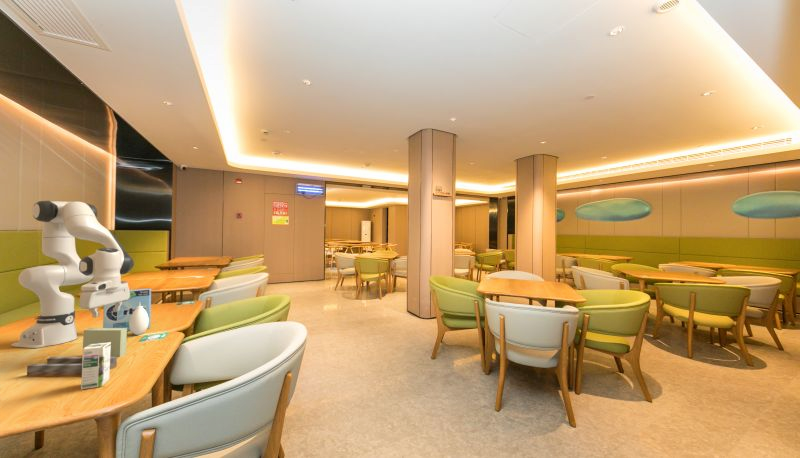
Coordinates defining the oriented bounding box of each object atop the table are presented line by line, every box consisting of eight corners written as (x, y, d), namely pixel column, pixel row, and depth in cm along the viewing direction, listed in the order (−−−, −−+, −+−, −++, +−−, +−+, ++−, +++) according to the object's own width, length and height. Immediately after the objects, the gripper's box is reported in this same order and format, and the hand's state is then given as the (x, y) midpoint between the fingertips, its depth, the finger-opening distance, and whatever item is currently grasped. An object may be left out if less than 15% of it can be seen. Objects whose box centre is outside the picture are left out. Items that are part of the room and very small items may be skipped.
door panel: (82, 357, 129) (83, 330, 129) (89, 354, 132) (90, 328, 132) (119, 357, 130) (120, 330, 130) (125, 354, 133) (126, 328, 133)
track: (26, 376, 111) (27, 365, 112) (50, 366, 119) (51, 357, 119) (97, 375, 113) (97, 365, 113) (116, 366, 121) (116, 356, 121)
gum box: (150, 326, 172) (151, 288, 173) (148, 328, 168) (150, 289, 169) (104, 332, 162) (106, 291, 162) (102, 334, 157) (103, 292, 158)
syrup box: (80, 390, 102) (81, 349, 103) (89, 382, 108) (91, 343, 108) (101, 387, 104) (103, 346, 105) (110, 379, 110) (111, 341, 110)
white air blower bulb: (139, 331, 163) (141, 299, 163) (151, 332, 162) (153, 300, 162) (124, 336, 155) (126, 302, 156) (137, 337, 154) (138, 303, 154)
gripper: (120, 280, 142) (120, 308, 142) (76, 287, 121) (75, 320, 121) (134, 280, 142) (133, 308, 142) (92, 287, 122) (91, 320, 121)
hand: (106, 314), depth 131 cm, fingers open, 8 cm apart
